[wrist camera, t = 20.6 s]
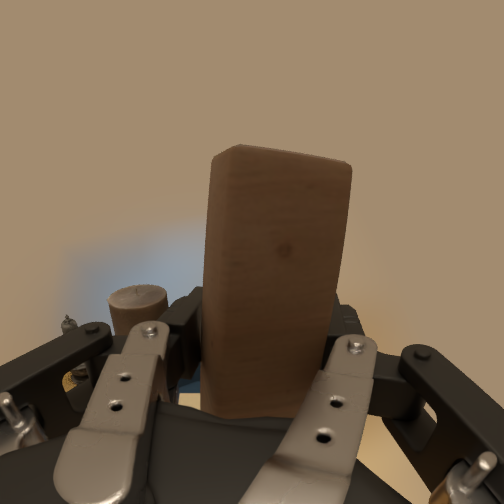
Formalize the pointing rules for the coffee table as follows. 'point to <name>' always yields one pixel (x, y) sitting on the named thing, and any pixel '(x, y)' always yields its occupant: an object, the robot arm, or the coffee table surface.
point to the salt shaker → (80, 371)
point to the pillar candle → (136, 306)
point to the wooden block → (269, 277)
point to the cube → (190, 400)
